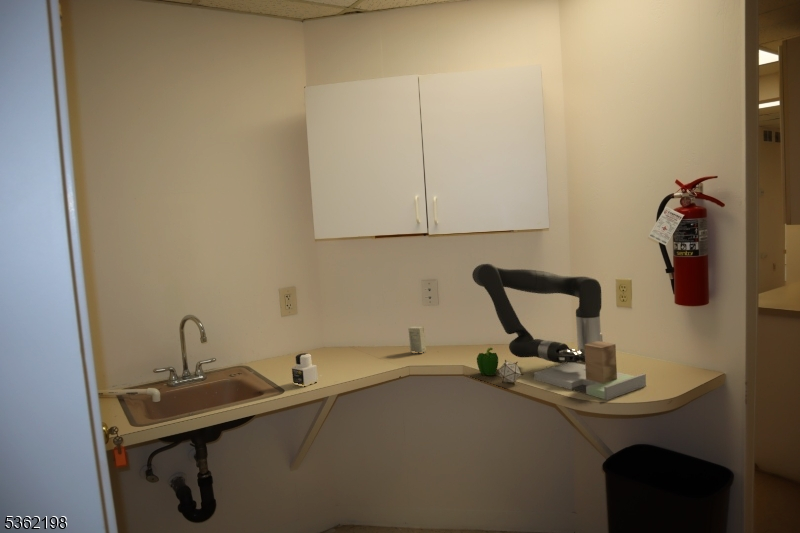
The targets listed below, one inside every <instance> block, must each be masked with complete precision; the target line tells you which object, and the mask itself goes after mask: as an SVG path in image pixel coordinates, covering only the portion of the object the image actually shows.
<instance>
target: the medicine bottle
mask: <svg viewBox="0 0 800 533" xmlns="http://www.w3.org/2000/svg"><path fill="white" fill-rule="evenodd" d="M291 373H292V383H293V382H294V383H298V384H302V385H305V384H308V383H310V382H313V381H316V380H318V381H319V378H318V366H317V365H316V364H313V363H312V355H311V354H310V353H308V352H304V353H299V354H297V355H296V356H295V366H292V368H291Z"/></svg>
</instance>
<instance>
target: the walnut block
mask: <svg viewBox="0 0 800 533" xmlns="http://www.w3.org/2000/svg"><path fill="white" fill-rule="evenodd" d="M584 348H585V362H584V363H585V364H584V365H585V368H586V379H587V380H591V381H595V382H599V383H603V384H604V383H607V382H610V381H613V380H616V379H617V372H618V369H617V354H616V353H617V349H616V343H613V342H612V343H610V342H605V341H603V342H600V341H596V342H593V343H589V344H585V345H584Z"/></svg>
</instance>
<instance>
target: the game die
mask: <svg viewBox="0 0 800 533" xmlns="http://www.w3.org/2000/svg"><path fill="white" fill-rule="evenodd" d="M518 362H519V361H518V360H517V361H516V362H509V361H507V360H506V359H504V363H503V364H502V365H501V367H499V369H498V368H497V371H496V372H498V373H499V375H500V377H501V380H502V381H501V383H502V384H503V383H504V382H506V383H511V384H513V385H514V386H515V385H516V384H515V383H516V381H517V380H519V378H520V376H524V373H521V370H520V367H519V366H518Z"/></svg>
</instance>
